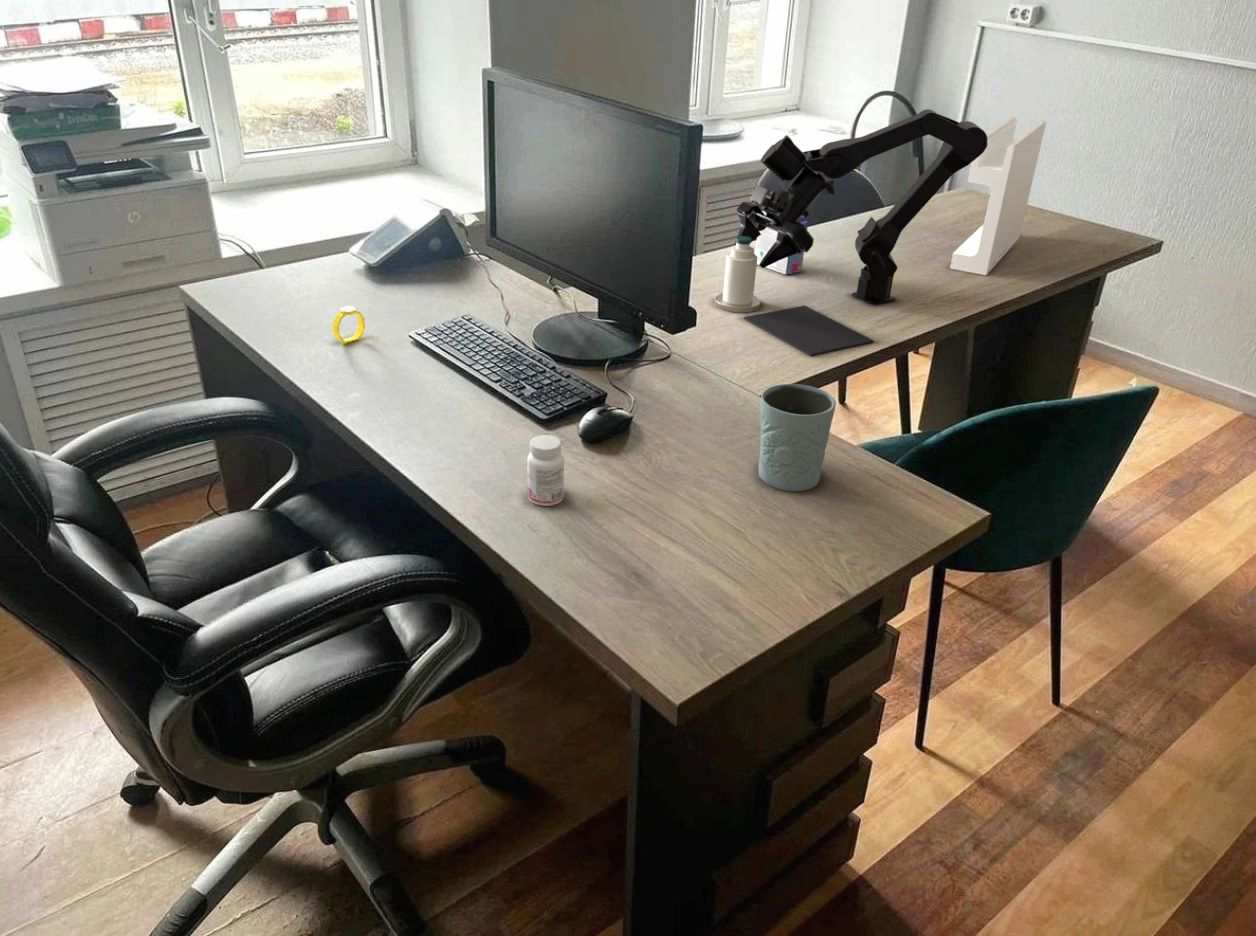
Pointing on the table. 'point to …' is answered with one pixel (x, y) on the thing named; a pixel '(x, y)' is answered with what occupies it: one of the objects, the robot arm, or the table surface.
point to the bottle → (740, 273)
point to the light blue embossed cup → (794, 435)
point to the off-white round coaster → (737, 308)
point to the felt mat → (808, 330)
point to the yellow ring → (338, 318)
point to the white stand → (1000, 194)
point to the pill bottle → (545, 471)
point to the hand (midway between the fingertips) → (746, 259)
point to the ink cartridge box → (783, 265)
